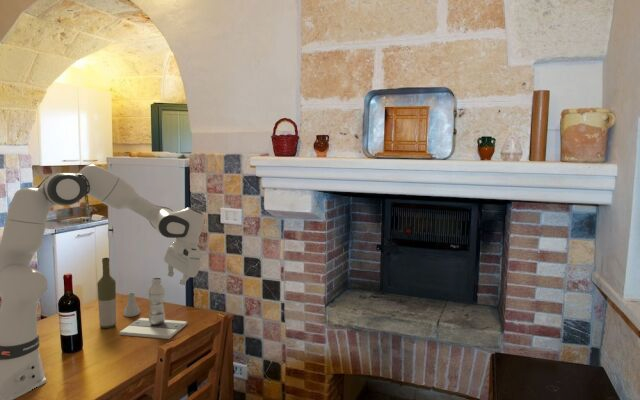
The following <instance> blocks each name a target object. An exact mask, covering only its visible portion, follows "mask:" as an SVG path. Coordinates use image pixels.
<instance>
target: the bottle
mask: <svg viewBox="0 0 640 400" xmlns="http://www.w3.org/2000/svg"><path fill="white" fill-rule="evenodd" d="M101 262H102V277H100V279H99V280H98V281H97V285H96V286H97V299H98V300H97V302H98V304H97V305H98V320H99V321H98V323H99V326H100V328H102V329H110V328H113V327H115V326H116V325H117V304H116V303H117V298H116V297H117V296H116V295H117V291H116V290H117V289H116V285H117V284H116V283H117V282H116V280H115V279H114V278H113V277H112V276H111V273H110V258H109V257H103V258H102V259H101Z"/></svg>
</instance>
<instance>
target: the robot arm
mask: <svg viewBox="0 0 640 400" xmlns="http://www.w3.org/2000/svg"><path fill="white" fill-rule="evenodd" d="M86 196H89V197H90V198H94V199H95V200H96V201H99V202H100V203H102V204H104V205H105V206H108V207H110V208H112V209H115V210H124V209H128V210H130V211H132V212H134V213H136V214H138V215H139V216H141V217H143V218H145V219H146V220H148V222H149V224H150V226H152V227H153V229H155V230H156V231H157V232H159V234H160V235H161V236H163V237H165V238H169V239H175V238H176V239H175V241H171V243H170V244H169V246H168V247H167V248H166V251H165V255H164V258H163V260H164V263H166V264H168V266H167V270H168V271H167V276H168V277H170V278H171V277H172V278H173V277H174V274H175V272H174V269H175V270H176V271H178V272H180V273H181V274H183V275H182V278H181V279H180V280H179V284H180V285H182V286H184V285H186V283H187V281H188V280H189V279H190V278H196V277H197V276H198V274H199V271H200V270H199V269H200V266H201V259H203V257H204V254H203V251H202V250H201V249H200V247H199V239H200V236H201V234H202V230H203V227H204V224H205V223H204V221H205V215H204V214H203V212H201V211H199V210H198V209H196V208H193V207H186V208H184V209H181V210H177V211H173V210H172V209H171V208H170V207H166V206H160V205H156V204H154V203H152V202H151V201H149V200H147V199H146V198H144V197H142V196H141V195H139V194H138V193H137V192H136V190H135V188H134V187H133V186H132V185H131V184H130V183H128V182H127V181H126V180H125V179H123V178H122V177H121V176H119V175H117V174H115V173H114V172H112V171H110V170H108V169H106V168H103V167H102V166H99V165H96V164H88V165H85V166H84V167H82V169H80V170H79V172H78V173H70V172H56V173H53V174H50V175H49V176H47V177H45V179H43V180H42V181H41V182H40V183H39V184H38V185H37V187H23V188H20V189H18V190H16V192H15V193H14V195H13V197H12V199H11V202H10V204H9V207H8V209H7V210H8V211H7V214H6V217H5V218H6V219H5V223H4V227H3V231H2V236H1V240H0V299H1V304H0V400H16V399H18V398H19V397H21V396H23V395H25V394H27V393H29V392H30V391H32V389H33V390H35V389H36V387H37V388H39V387H41V386H42V385H44V384H46V383H47V378H46V373H45V371H44V368H43V362H42V357H41V354H40V350H39V347H40V337H39V336H40V335H39V334H38V323H37V320H38V319H37V315H38V314H37V313H38V308H39V307H38V306H39V302H40V300H41V298H42V297H43V296H44V294H45V293H46V291H47V288H48V281H47V278H46V276H45V275H43V273H42V272H40V271H39V270H37V269H36V268H34V267H31V266H30V264H31V261H32V259H33V258H34V256H35V255H36V252H38V251H40V249H41V248H42V245H43V240H44V235H45V231H46V224H47V220H48V215H49V212H50V211H51V209H52V208H53V207H54V206H63V207H64V206H65V207H66V206H71V205H75V204H76V203H79V202H80V201H81V200H82V199H83V198H84V197H86ZM34 388H35V389H34Z"/></svg>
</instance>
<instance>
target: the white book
mask: <svg viewBox="0 0 640 400" xmlns="http://www.w3.org/2000/svg"><path fill="white" fill-rule="evenodd" d="M186 325H188V321H187V320H186V321H184V320H175V319H174V320H173V319H172V320H171V319H165V321H164V323H162V324H160V325H152V324H150V322H149V317H140V318H138V319H136V320H134V321H132V322H131V323H130V324H129V325H128V326H126V327H125V328H123V329H122V330H120V331H119V335H120V336H121V335H122V336H133V337H145V338H156V339H167V340H170V339H171V338H172V337H173V336H175V335H176V334H177V333H178V332H180V331H181V330H182V329H183V328H184V327H186Z"/></svg>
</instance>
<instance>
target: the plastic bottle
mask: <svg viewBox="0 0 640 400" xmlns="http://www.w3.org/2000/svg"><path fill="white" fill-rule="evenodd" d="M150 284H151V285H150V287H149V288H148V291H147V294H148V299H149V315H148V318H149V322H150V324H152V325H160V324H162V323H164V321H165V320H166V313H165V308H164V298H165V288H164V286H163V285H162V278H161V277H153V278H151V282H150Z"/></svg>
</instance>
